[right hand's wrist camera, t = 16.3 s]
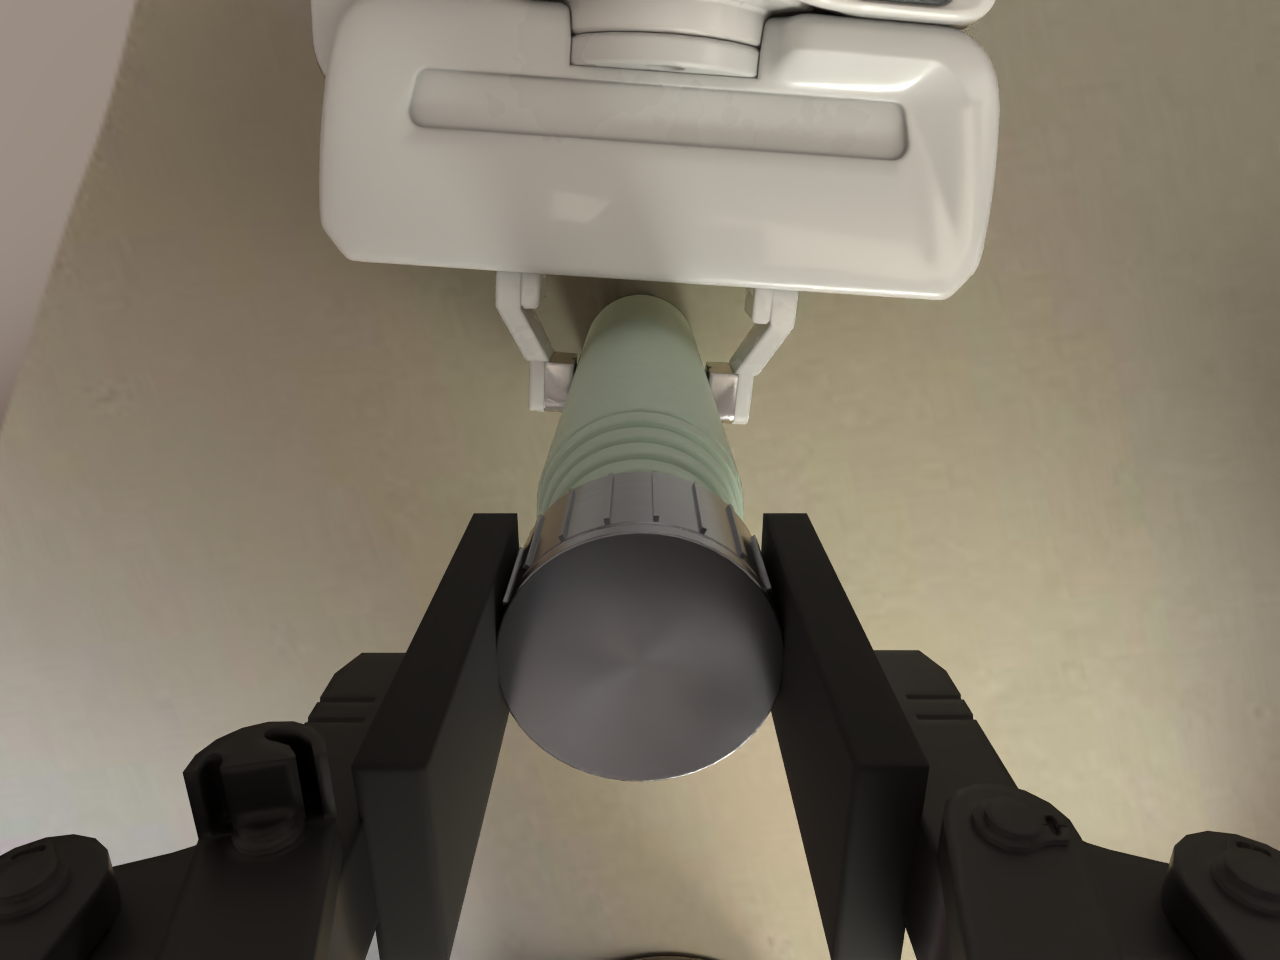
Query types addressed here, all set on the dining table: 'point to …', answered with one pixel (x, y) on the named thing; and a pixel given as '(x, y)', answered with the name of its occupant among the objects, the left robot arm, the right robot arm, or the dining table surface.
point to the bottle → (640, 407)
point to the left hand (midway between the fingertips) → (639, 413)
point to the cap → (640, 629)
